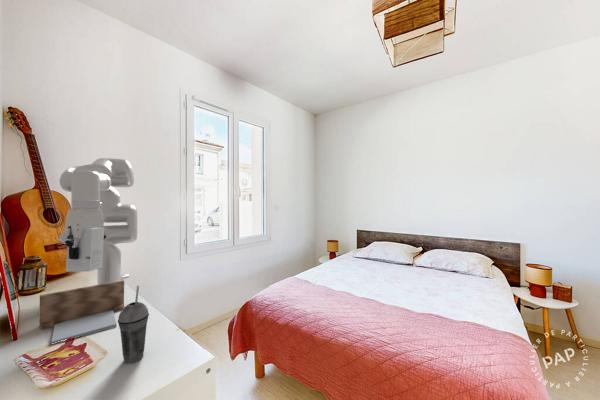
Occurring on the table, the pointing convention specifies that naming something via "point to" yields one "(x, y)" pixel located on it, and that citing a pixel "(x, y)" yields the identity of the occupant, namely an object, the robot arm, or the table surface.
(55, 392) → the table surface
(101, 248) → the skincare box
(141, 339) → the beverage cup
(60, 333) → the mat
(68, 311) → the walnut screen
